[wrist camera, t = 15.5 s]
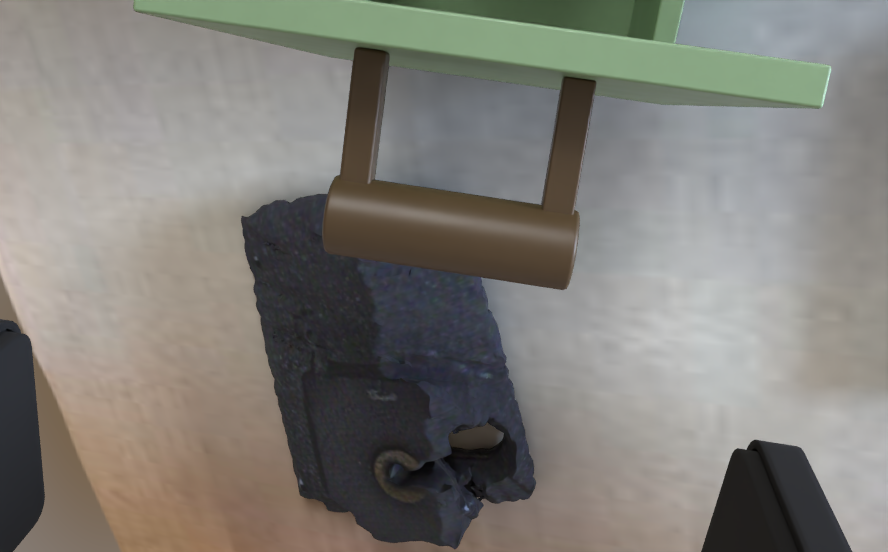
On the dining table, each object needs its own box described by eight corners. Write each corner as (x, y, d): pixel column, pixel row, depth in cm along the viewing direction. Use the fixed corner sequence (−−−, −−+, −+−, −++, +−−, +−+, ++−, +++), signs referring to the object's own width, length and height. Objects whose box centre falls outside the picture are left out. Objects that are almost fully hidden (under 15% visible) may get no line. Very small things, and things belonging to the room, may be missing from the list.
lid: (134, -32, 16) (117, 241, 17) (833, 65, 16) (769, 344, 17) (330, 36, 34) (315, 172, 35) (667, 84, 33) (641, 221, 34)
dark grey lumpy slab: (502, 168, 45) (497, 195, 41) (539, 505, 53) (539, 558, 49) (228, 195, 47) (196, 224, 43) (305, 514, 56) (285, 565, 51)
